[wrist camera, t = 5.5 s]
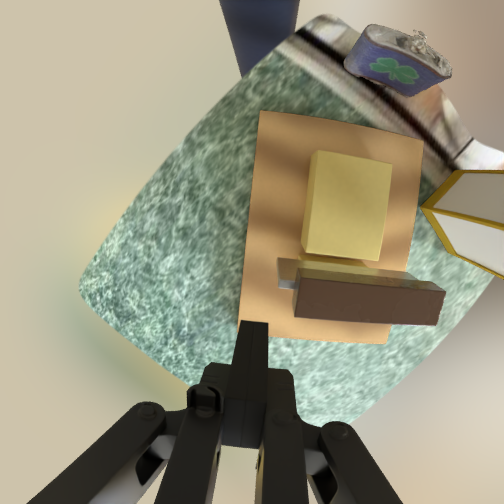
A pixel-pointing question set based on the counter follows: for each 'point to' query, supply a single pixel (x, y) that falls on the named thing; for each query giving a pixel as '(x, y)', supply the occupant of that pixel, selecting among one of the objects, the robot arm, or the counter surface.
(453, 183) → the soap bottle
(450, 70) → the flask
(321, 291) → the dough scraper
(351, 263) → the butter pat
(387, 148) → the butter board
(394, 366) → the counter surface
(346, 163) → the butter block
